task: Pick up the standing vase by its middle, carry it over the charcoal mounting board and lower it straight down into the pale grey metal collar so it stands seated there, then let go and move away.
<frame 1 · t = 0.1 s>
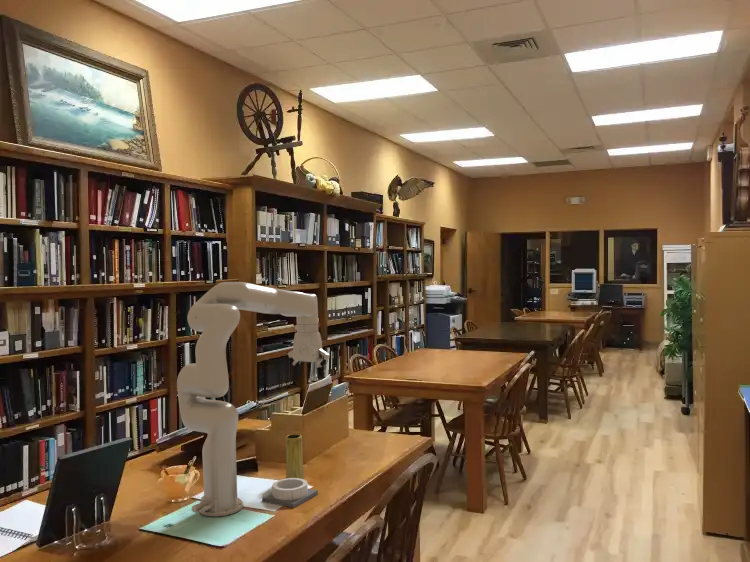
hand: (309, 377, 220), 31 cm above the table, tool pointing down, fingers open, 9 cm apart
mount: (290, 497, 190), on the table
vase: (295, 479, 206), on the table
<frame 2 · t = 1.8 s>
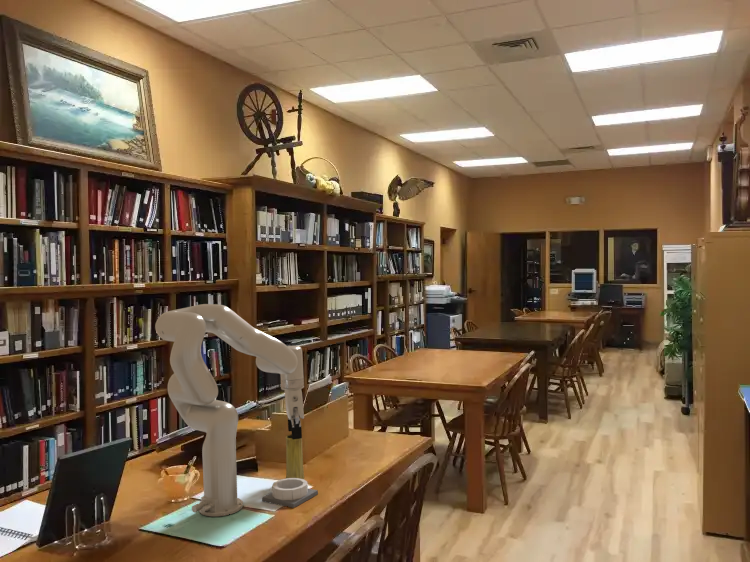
hand: (295, 434, 206), 15 cm above the table, tool pointing down, fingers open, 9 cm apart
nothing on the table moved.
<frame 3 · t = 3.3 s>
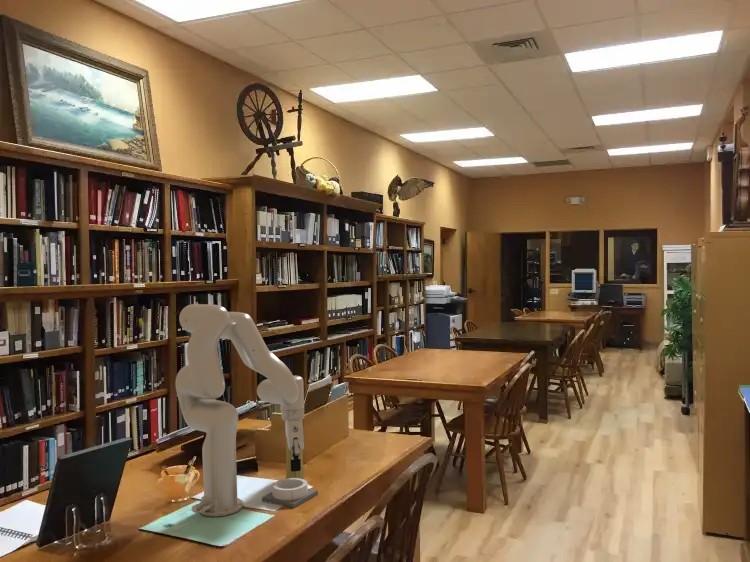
hand: (294, 467, 206), 4 cm above the table, tool pointing down, fingers closed on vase, 5 cm apart
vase: (295, 479, 206), on the table, touching gripper
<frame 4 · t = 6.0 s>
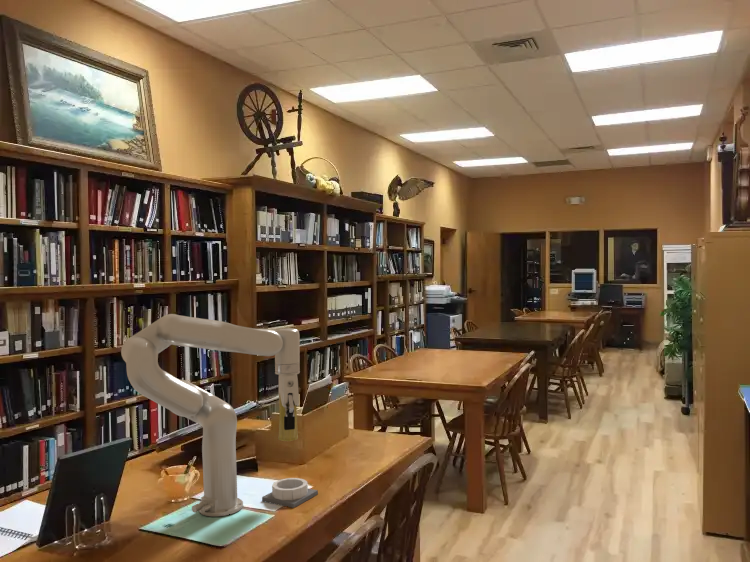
hand: (287, 426, 192), 21 cm above the table, tool pointing down, fingers closed on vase, 5 cm apart
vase: (288, 439, 193), point 17 cm above the table, touching gripper
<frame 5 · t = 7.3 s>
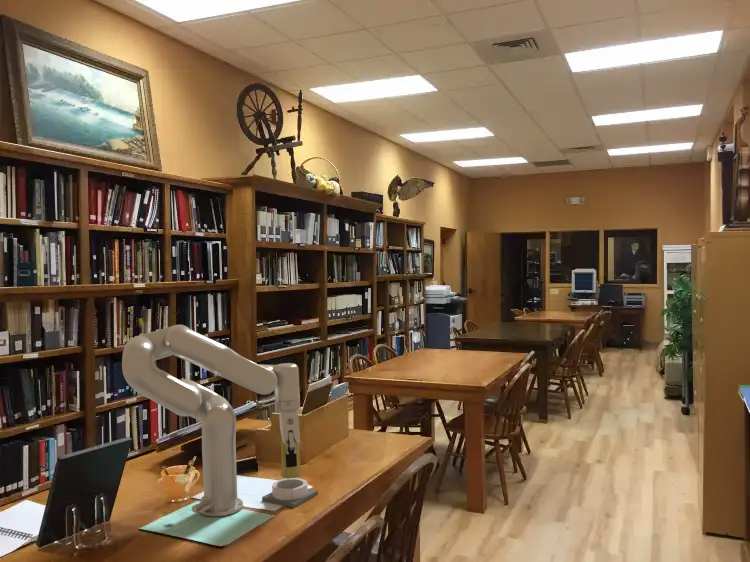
hand: (290, 462, 190), 11 cm above the table, tool pointing down, fingers closed on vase, 5 cm apart
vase: (291, 475, 190), point 7 cm above the table, touching gripper
when the fingers open (6 cm above the table, at t = 8.7 s): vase stays where it is, resting on mount.
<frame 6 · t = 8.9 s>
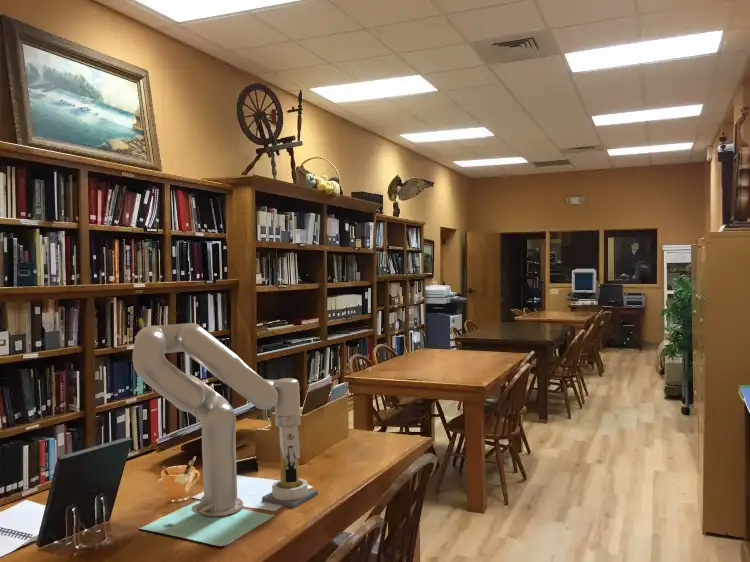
hand: (289, 477, 190), 6 cm above the table, tool pointing down, fingers open, 7 cm apart
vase: (289, 494, 190), point 1 cm above the table, touching mount
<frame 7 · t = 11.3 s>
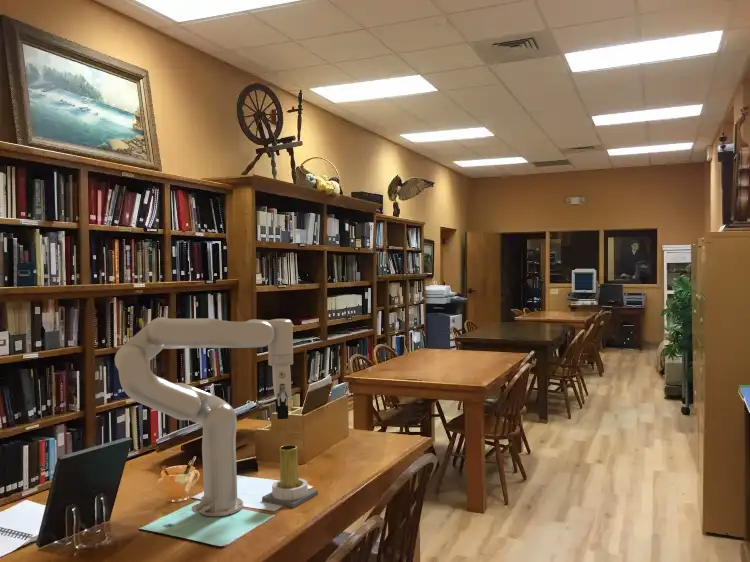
hand: (281, 415, 191), 25 cm above the table, tool pointing down, fingers open, 9 cm apart
nothing on the table moved.
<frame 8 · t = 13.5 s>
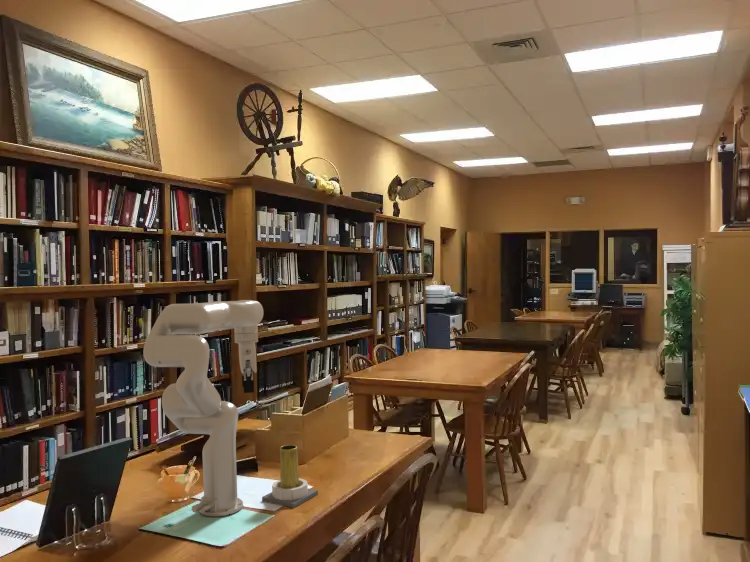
hand: (248, 389, 205), 30 cm above the table, tool pointing down, fingers open, 9 cm apart
nothing on the table moved.
at the end: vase 0.1 cm off-centre on the mount, point 1.0 cm above the mount's base; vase tilted 0°; the gripper is holding nothing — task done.
